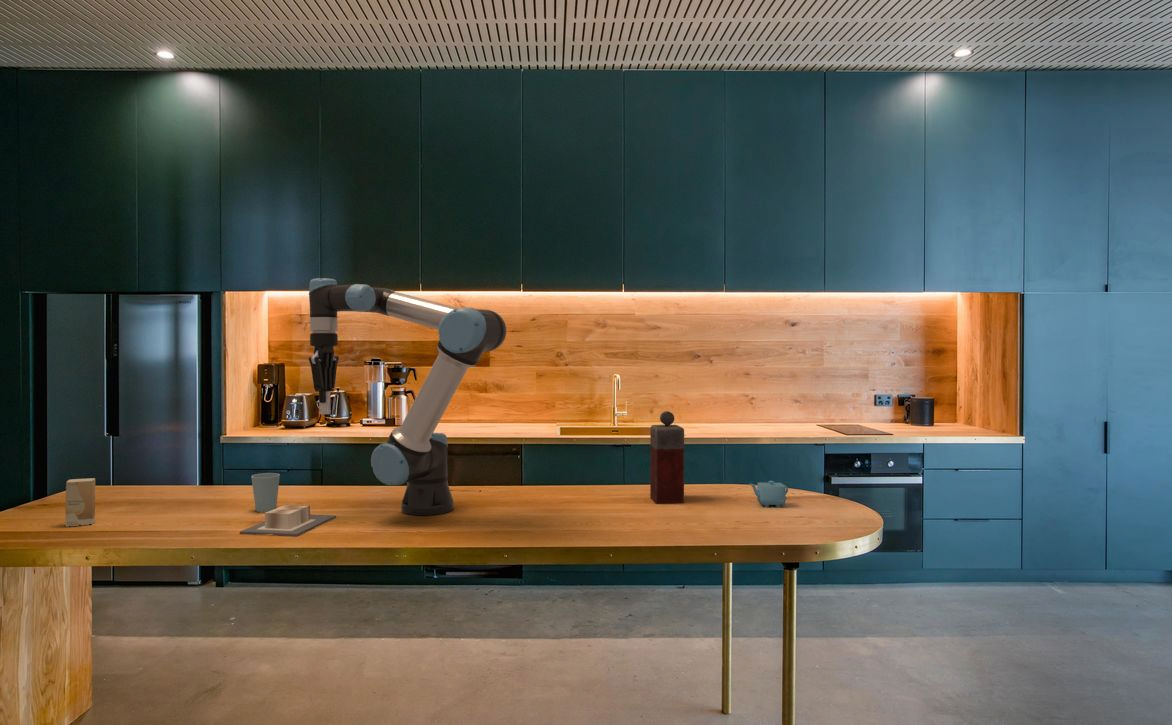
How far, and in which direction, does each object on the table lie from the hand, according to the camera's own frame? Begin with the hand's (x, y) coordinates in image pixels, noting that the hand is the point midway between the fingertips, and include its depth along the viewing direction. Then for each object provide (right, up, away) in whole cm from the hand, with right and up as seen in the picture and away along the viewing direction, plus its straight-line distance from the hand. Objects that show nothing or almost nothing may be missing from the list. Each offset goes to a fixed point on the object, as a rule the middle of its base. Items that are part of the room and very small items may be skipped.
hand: (324, 413), depth 207 cm
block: (-4, -26, -10) cm, 28 cm away
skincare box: (-62, -29, -12) cm, 70 cm away
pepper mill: (+101, -29, +18) cm, 106 cm away
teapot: (+131, -29, +10) cm, 135 cm away
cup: (-19, -29, +4) cm, 35 cm away
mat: (-5, -29, -13) cm, 32 cm away
